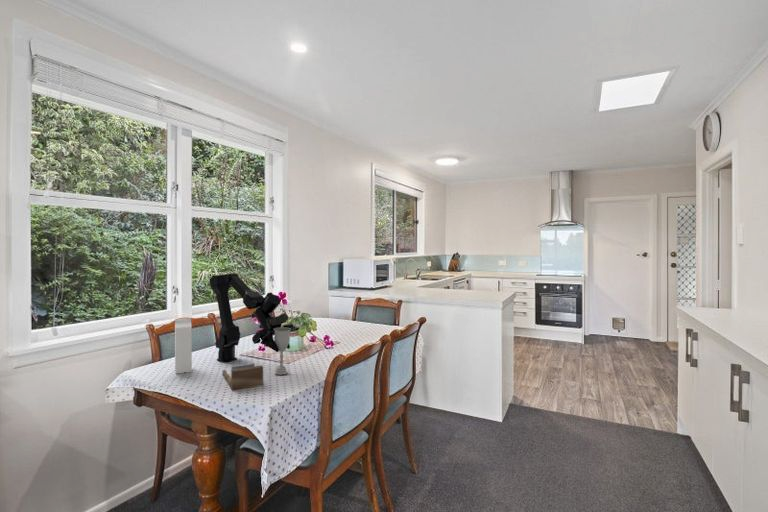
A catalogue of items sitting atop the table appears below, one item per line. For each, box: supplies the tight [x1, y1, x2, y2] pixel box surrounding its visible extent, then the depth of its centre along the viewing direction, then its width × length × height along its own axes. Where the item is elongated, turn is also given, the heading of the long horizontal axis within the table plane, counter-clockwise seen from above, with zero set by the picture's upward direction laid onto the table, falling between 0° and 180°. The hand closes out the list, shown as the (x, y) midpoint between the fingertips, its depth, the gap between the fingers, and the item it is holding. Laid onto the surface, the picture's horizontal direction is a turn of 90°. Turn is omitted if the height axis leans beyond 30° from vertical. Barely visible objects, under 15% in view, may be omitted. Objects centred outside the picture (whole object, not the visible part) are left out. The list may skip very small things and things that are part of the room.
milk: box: [174, 317, 193, 374], centre depth 166 cm, size 6×6×22 cm
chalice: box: [273, 326, 291, 375], centre depth 163 cm, size 7×7×18 cm
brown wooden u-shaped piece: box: [221, 365, 264, 391], centre depth 156 cm, size 20×11×7 cm, turn 32°
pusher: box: [230, 363, 255, 371], centre depth 154 cm, size 1×8×6 cm, turn 122°
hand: (283, 349), depth 163 cm, fingers closed on chalice, 6 cm apart
